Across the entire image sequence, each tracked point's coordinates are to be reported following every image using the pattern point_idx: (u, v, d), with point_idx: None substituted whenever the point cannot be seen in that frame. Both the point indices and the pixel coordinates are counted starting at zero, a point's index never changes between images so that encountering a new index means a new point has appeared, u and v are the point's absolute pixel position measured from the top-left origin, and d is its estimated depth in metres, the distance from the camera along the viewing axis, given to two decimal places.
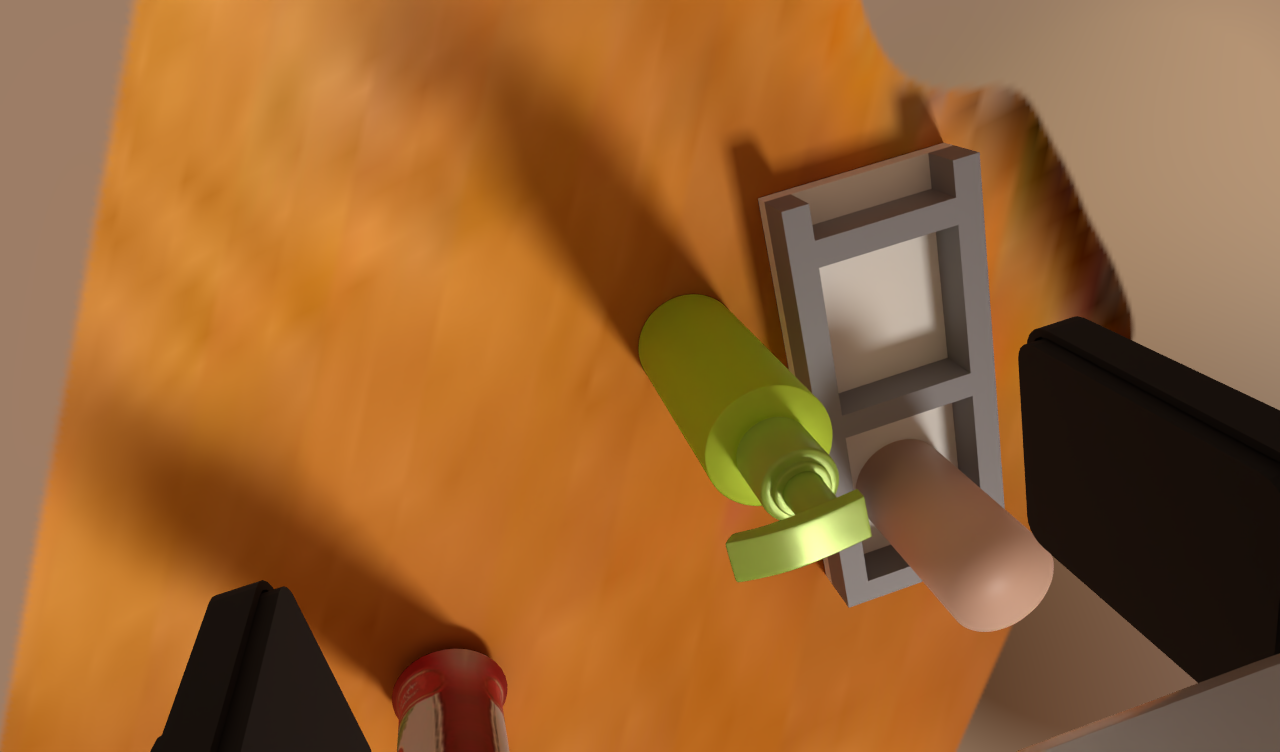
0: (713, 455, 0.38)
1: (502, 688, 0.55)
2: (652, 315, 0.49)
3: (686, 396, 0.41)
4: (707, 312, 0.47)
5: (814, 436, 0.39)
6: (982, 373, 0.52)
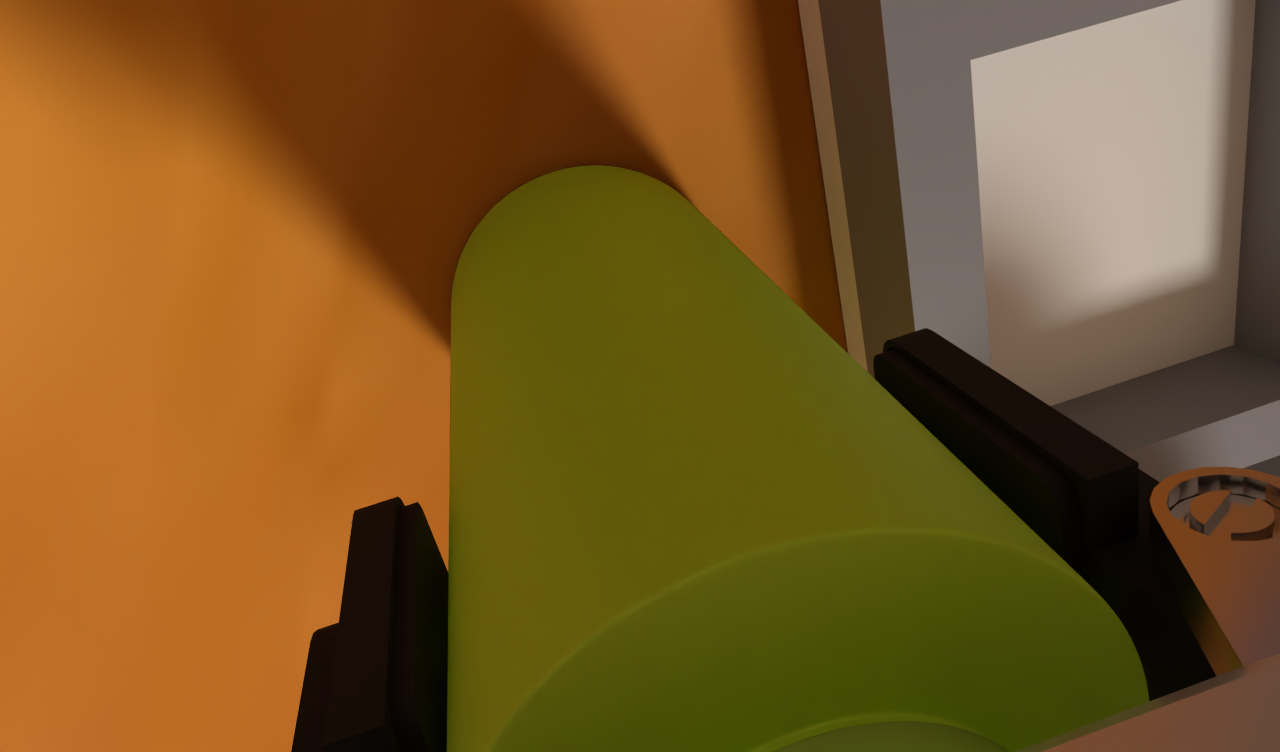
0: None
1: None
2: (482, 221, 0.17)
3: (460, 510, 0.10)
4: (621, 201, 0.15)
5: None
6: None
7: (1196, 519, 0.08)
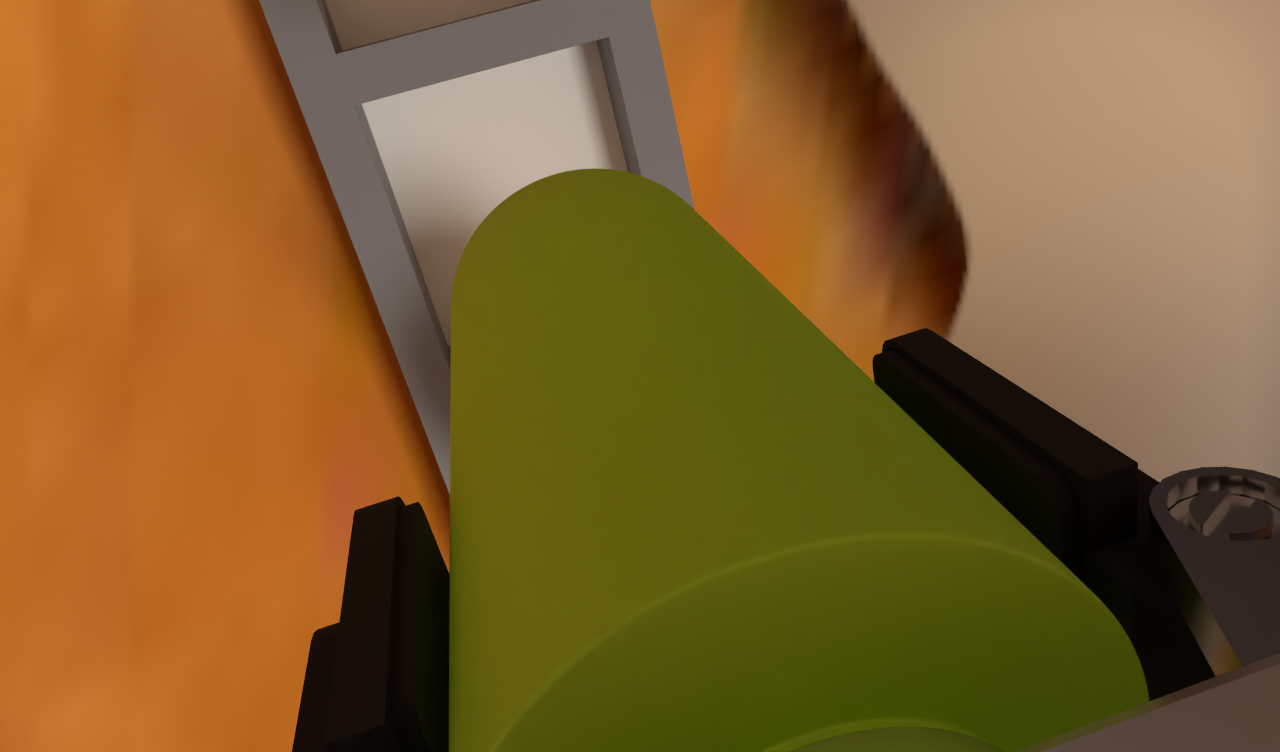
0: None
1: None
2: (482, 224, 0.17)
3: (460, 515, 0.10)
4: (620, 204, 0.15)
5: None
6: None
7: (1195, 519, 0.08)
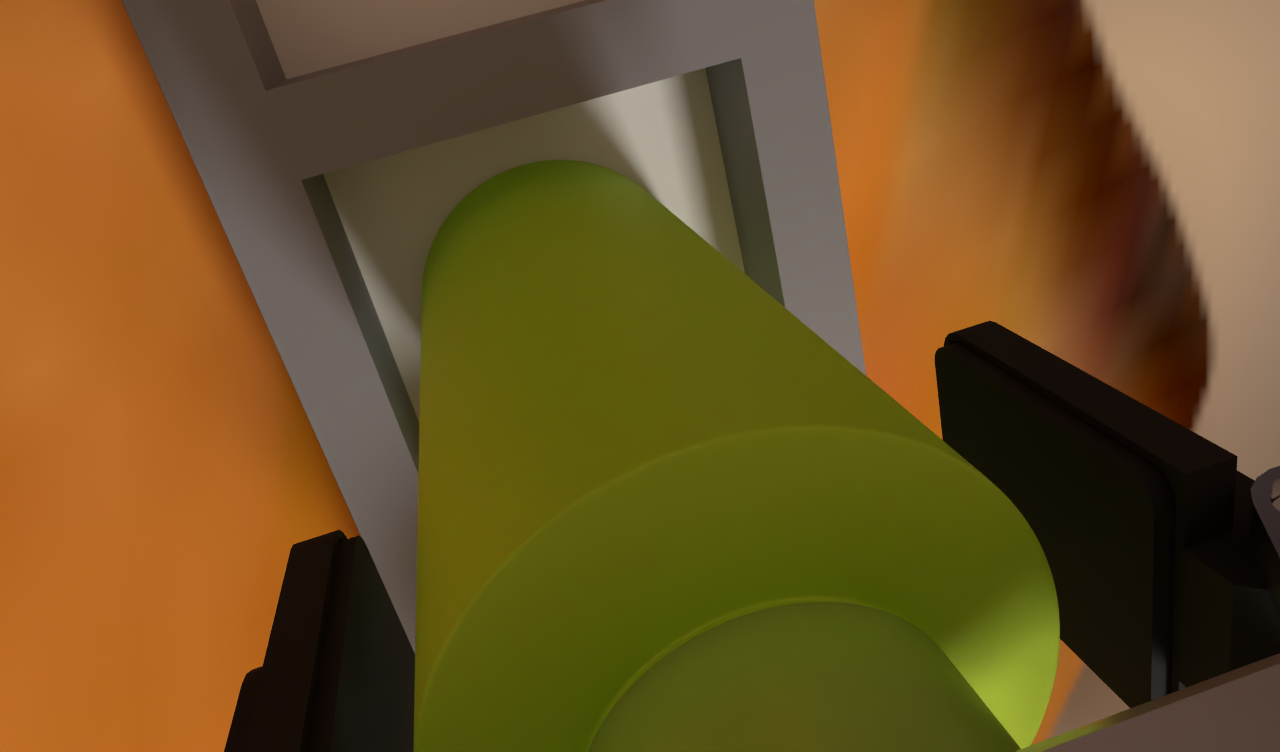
0: None
1: None
2: (451, 213, 0.18)
3: (427, 458, 0.10)
4: (582, 187, 0.16)
5: (983, 680, 0.08)
6: None
7: None
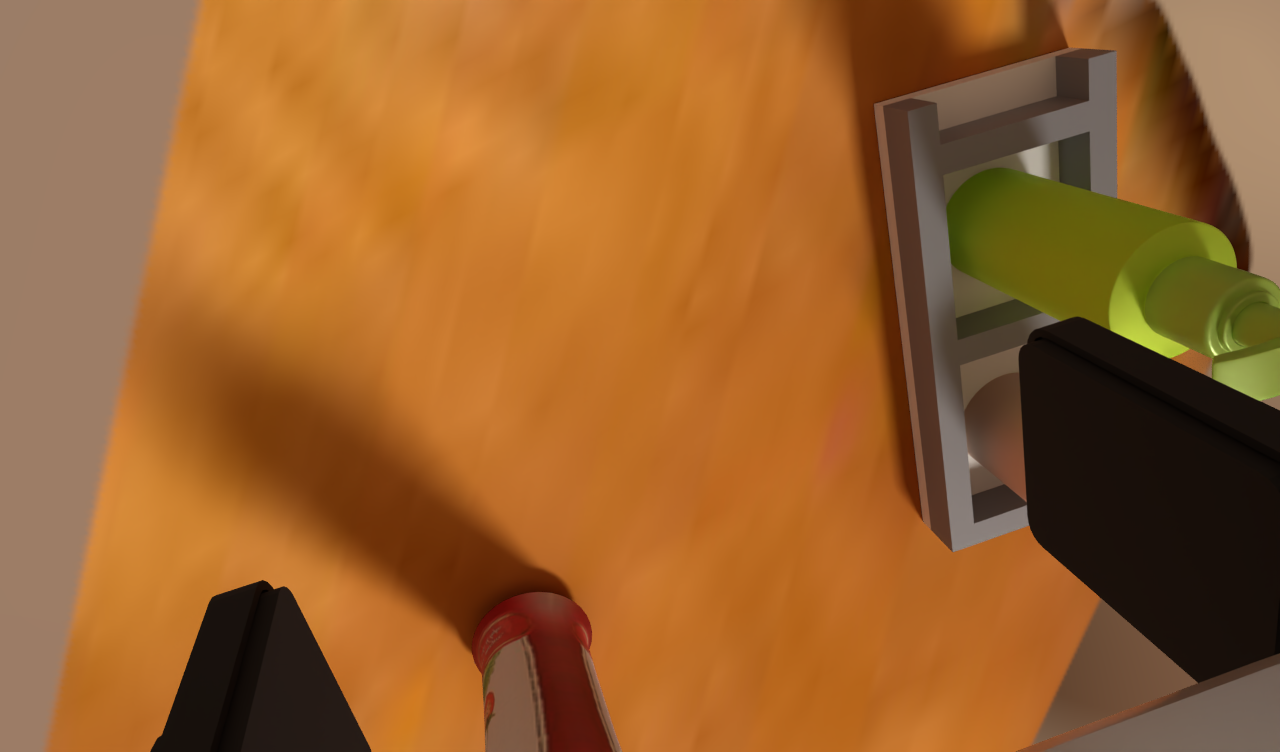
0: (1119, 299, 0.36)
1: (587, 636, 0.51)
2: (961, 188, 0.47)
3: (1059, 249, 0.39)
4: (1037, 178, 0.44)
5: None
6: None
7: None
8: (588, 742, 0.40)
